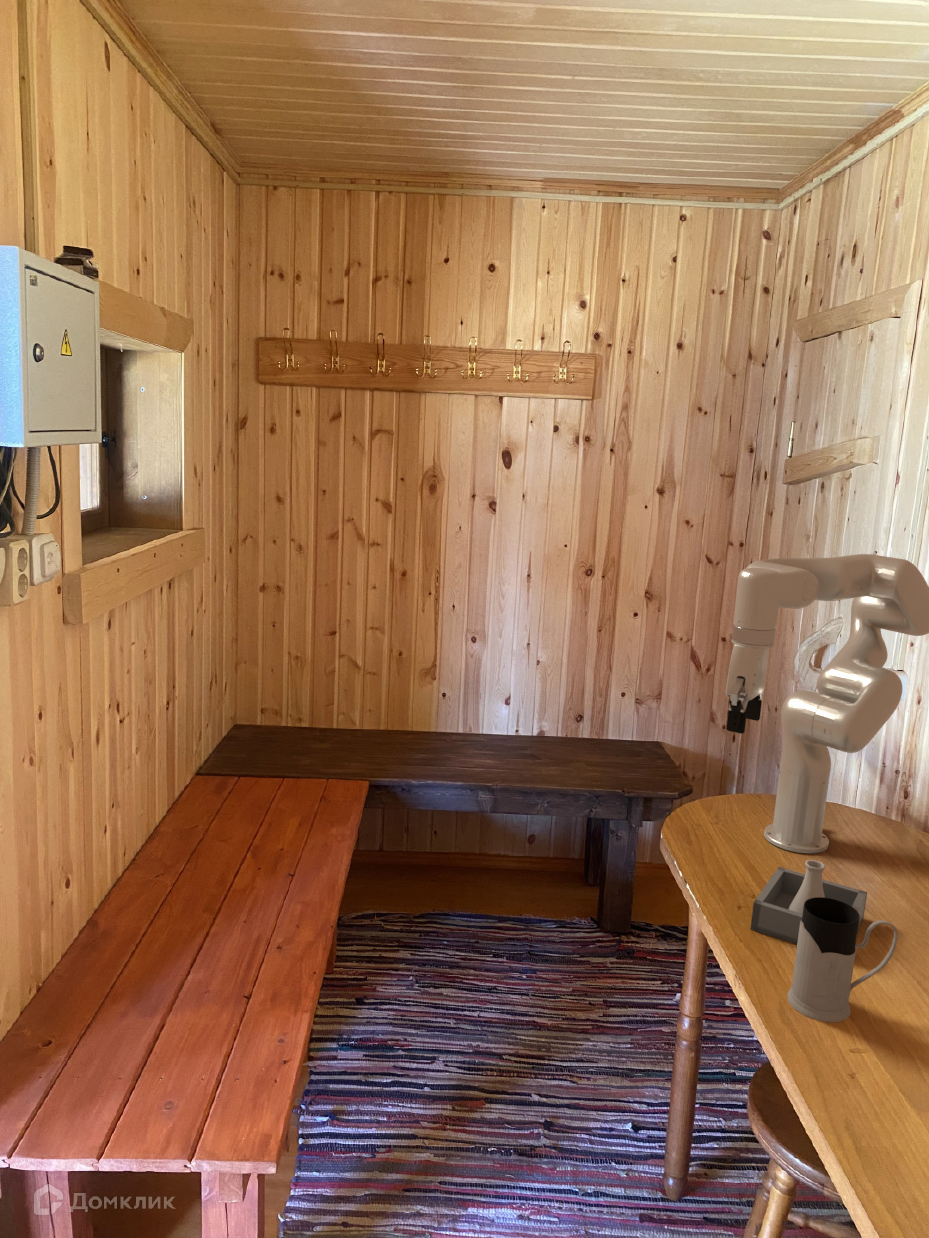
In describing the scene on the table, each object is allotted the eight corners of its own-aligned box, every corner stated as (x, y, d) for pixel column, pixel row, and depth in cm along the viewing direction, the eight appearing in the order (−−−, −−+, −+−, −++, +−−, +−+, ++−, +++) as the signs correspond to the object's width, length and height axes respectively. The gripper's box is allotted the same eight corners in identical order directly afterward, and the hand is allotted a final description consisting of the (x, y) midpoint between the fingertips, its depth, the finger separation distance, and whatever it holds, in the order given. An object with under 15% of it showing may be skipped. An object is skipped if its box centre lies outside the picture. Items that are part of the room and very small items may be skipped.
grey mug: (779, 983, 139) (791, 893, 136) (873, 989, 139) (887, 898, 136) (798, 1020, 130) (811, 924, 127) (898, 1026, 130) (914, 930, 127)
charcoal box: (775, 891, 167) (778, 866, 166) (863, 918, 159) (867, 892, 158) (750, 929, 154) (753, 902, 153) (844, 960, 146) (848, 931, 145)
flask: (833, 932, 152) (841, 876, 150) (788, 925, 154) (795, 870, 152) (827, 910, 159) (834, 857, 157) (783, 904, 161) (790, 851, 159)
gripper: (746, 625, 177) (737, 710, 180) (718, 640, 162) (708, 732, 166) (786, 631, 173) (776, 718, 176) (760, 647, 158) (749, 741, 162)
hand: (743, 725), depth 171 cm, fingers open, 9 cm apart
